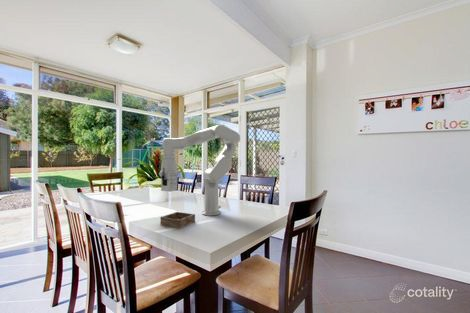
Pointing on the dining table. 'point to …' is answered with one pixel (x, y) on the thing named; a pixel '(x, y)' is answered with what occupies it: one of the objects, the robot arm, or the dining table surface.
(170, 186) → the supplement box
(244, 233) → the dining table surface
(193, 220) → the wooden shadow box
